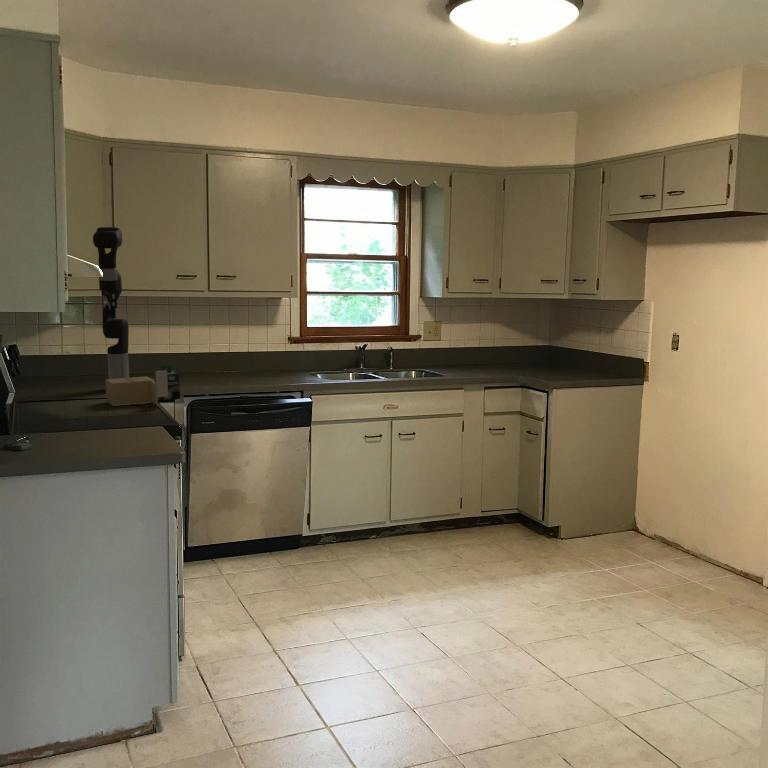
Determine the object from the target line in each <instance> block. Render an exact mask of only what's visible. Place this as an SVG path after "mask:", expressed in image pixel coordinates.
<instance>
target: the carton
mask: <svg viewBox="0 0 768 768" xmlns="http://www.w3.org/2000/svg"><path fill="white" fill-rule="evenodd" d="M151 381H154V382H155V380H153V378H151V377H149V376H135V377H130V376H129V377H127V378H119V379H109V378H108V379H107V378H106V379H105V399H106V400H105V401H107V402H110V403H112V404H124V403H141V402H148V401H151ZM107 402H106V403H107Z"/></svg>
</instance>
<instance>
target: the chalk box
mask: <svg viewBox="0 0 768 768" xmlns="http://www.w3.org/2000/svg"><path fill="white" fill-rule="evenodd" d="M165 369H167V370H165ZM161 371H167V381H168V397H158V400H160V401H165V400H173V399H174V400H175V399H176V400H177V399H180V398H181V389H180V388H181V385H180V384H181V383H180V378H181V377H180V373H179V372H176V371H174V370H172V365H171V364H169V365H162V366H161ZM152 379H153V380H155V383H156V371H155V372H153V373H152Z"/></svg>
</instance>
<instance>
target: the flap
mask: <svg viewBox="0 0 768 768" xmlns="http://www.w3.org/2000/svg"><path fill="white" fill-rule="evenodd" d="M167 371H168V370H165V371H162V370H156V371H155V372H156V383H155V382H154V381H151V401H152V402H155V403H158V404H159V399H158V397H168V381H167Z"/></svg>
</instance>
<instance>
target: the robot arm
mask: <svg viewBox="0 0 768 768" xmlns="http://www.w3.org/2000/svg"><path fill="white" fill-rule="evenodd" d="M92 243H93V245H94V247H96V248H97V253H98V269H99V268H100V269H101V270H102V272H103V277H99V276H98V288H99V291H100V292H101V301H102V303H101V305H102V321H101V323H102V332H103V333H102V334H103V336H104V338H106V339H112V340H113V339H114V340H115V339H116V340H117V343H115V344H113V345H110V346H108V347H107V348H106V351H107V367H108V369H107V370H108V372H107V373H108V379H119V378H127V377H130V363H129V334H130V333H129V323H128V321H127V320H126V319H124V318H116V317H117V315H116V314H117V313H116V310H117V308H118V300H119V299H120V297H121V294H122V292H123V291H122V290H123V285H122V276H121V274H120V271H119V270H118V269H117V253H118V249H119V247H121V246H122V244H123V233H122V230H121V229H120V228H119V227H114V226H109V227H107V226H105V227H104V226H103V227H100V226H99V227H97V229H96V231H95V232H94V234H93V235H92ZM106 249H110V251H108V252H106Z"/></svg>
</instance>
